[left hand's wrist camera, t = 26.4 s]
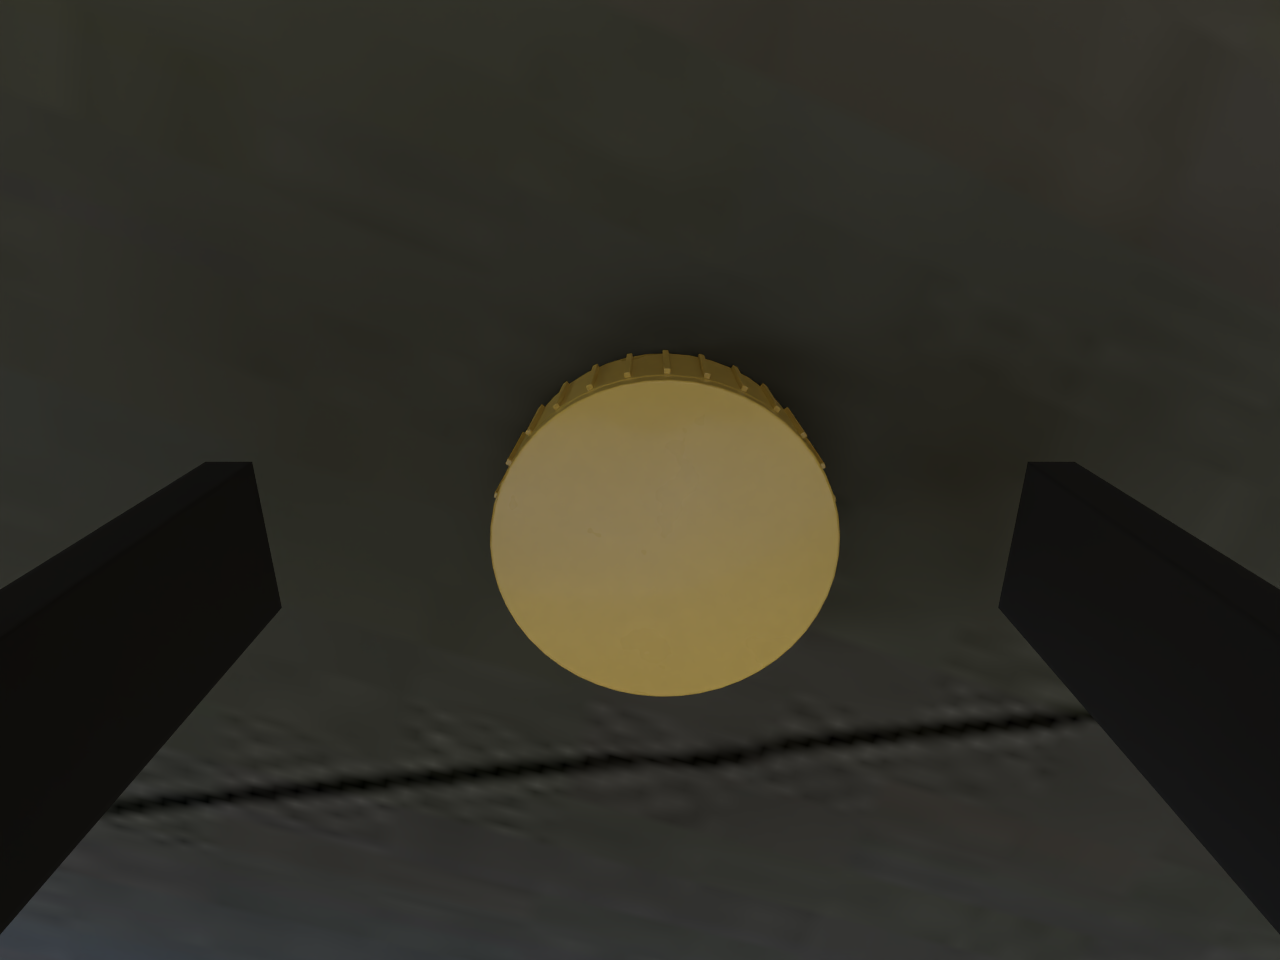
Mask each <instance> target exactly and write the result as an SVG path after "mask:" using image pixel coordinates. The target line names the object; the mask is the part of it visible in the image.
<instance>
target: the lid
mask: <svg viewBox="0 0 1280 960" xmlns="http://www.w3.org/2000/svg"><path fill="white" fill-rule="evenodd" d="M506 464H507V465H509V467H508V469H507V471H506V473H505V475H504V476H503V478H502V480H501V482H500V484H499V486H498V488H497V490H496V491H495V494H494V498H496V500H495V503H494V507H493V513H492V519H491V525H490V550H491V558H492V566H493V570H494V573H495V577H496V581H497V584H498V587H499V590H500V592H501V594H502V597H503V599H504V601H505V604H506V606H507V607H508V609H509V611H510V613H511V614H512V616H513V618H514V619H515V621H516V623H517V624H518V625H519V626H520V628H521V629H522V630H523V631H524V633H525V634H526V635H527V637H528V638H529V639H530V640H531V641H532V642H533V643H534V644H535V645H536V646H537V647H538V648H539V649H540V650H541V651H542V652H543V653H544V654H546V655H547V656H548V657H550V658H551V659H552V660H554V661H555V662H556V663H558V664H559V665H560V666H562V667H564V668H565V669H567V670H569V671H570V672H572V673H574V674H575V675H577V676H579V677H581V678H584V679H586V680H588V681H590V682H593V683H595V684H597V685H600V686H604V687H607V688H610V689H613V690H616V691H621V692H626V693H631V694H636V695H647V696H683V695H690V694H697V693H703V692H707V691H711V690H715V689H719V688H722V687H725V686H727V685H730V684H733V683H736V682H738V681H741V680H743V679H745V678H747V677H749V676H751V675H753V674H755V673H757V672H758V671H760V670H762V669H763V668H765V667H766V666H768V665H769V664H771V663H772V662H774V661H775V660H777V659H778V658H779V657H780V656H781V655H782V654H784V653H785V652H786V651H787V650H788V649H790V648H791V647H792V646H793V645H794V644H795V643H796V641H797V640H798V639H799V638H800V637H801V636H802V635H803V634H804V633H805V632H806V630H807V629H808V628H809V626H810V625H811V623H812V622H813V620H814V619H815V618H816V616H817V615H818V613H819V611H820V609H821V607H822V605H823V603H824V602H825V600H826V598H827V596H828V593H829V590H830V587H831V585H832V582H833V579H834V576H835V572H836V567H837V562H838V557H839V544H840V529H839V517H838V511H837V507H836V503H835V502H836V497H835V495H834V494H833V491H832V489H831V486H830V484H829V481H828V479H827V476H826V474H825V472H824V470H823V469H824V468H826V466H825V464H824V462H823V461H822V459H821V458H820V456H819V455H818V453H817V452H816V450H815V449H814V447H813V446H812V444H811V443H810V441H809V440H808V438H807V434H806V433H805V432H804V430H803V429H802V427H801V426H800V424H799V423H798V421H797V420H796V418H795V417H794V415H793V414H792V412H791V411H790V409H789V408H788V407H786V408H785V409H783V408H782V406H781V405H780V404H779V403H778V402H777V401H776V400H775V398H774V397H773V395H772V394H771V392H770V391H769V389H768V387H767V386H766V385H765V384H763V383H762V385H761V386H759V385H758V384H757V383H755V382H754V381H752V380H751V379H750V378H748V377H747V376H745V375H743V374H741V373H740V371H739V369H738V367H736V366H734V365H732V367H731V368H730V367H727V366H725V365H722V364H719V363H717V362H714V361H711V360H708V359H705V356H704V355H702V354H698V357H694V356H690V355H680V354H669V352H668V350H663V354H645V355H639V356H633V355H632V353H630V354H627V356H626V358H624V359H620V360H617V361H614V362H611V363H607V364H605V365H603V366H600V367H599V365H598V364H596V365H593V367H592V370H591V371H589V372H587V373H586V374H584V375H582V376H581V377H579V378H578V379H576V380H575V381H573V382H571V383H570V384H569V383H568V382H567V381H566V382H565V383H564V384H563V385H562V387H561V389H560V392H559V393H558V394H557V395H555V396H554V397H553V398H552V400H551V401H550V402H549V403H548V404H547V405H546V406H543V405H541V406H540V407H539V408H538V410H537V412H536V414H535V416H534V417H533V419H532V421H531V423H530V425H529V427H528V428H527V430H526V432H525V433H524V432H522V434H521V436H520V438H519V440H518V441H517V443H516V445H515V447H514V449H513V450H512V452H511V454H510V456H509V458H508V459H507V461H506Z"/></svg>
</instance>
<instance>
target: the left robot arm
mask: <svg viewBox="0 0 1280 960" xmlns="http://www.w3.org/2000/svg"><path fill="white" fill-rule="evenodd" d="M281 608H282V607H281V602H280V597H279V592H278V587H277V582H276V577H275V573H274V568H273V563H272V558H271V553H270V548H269V543H268V538H267V533H266V528H265V523H264V518H263V514H262V509H261V504H260V499H259V494H258V489H257V484H256V479H255V474H254V469H253V464H252V462H205V463H203V464H201V465H200V466H198V467H197V468H195V469H193V470H192V471H190V472H189V473H187V474H185V475H184V476H182V477H181V478H179V479H177V480H176V481H174V482H173V483H171V484H169V485H168V486H166V487H164V488H163V489H161V490H160V491H158V492H156V493H155V494H153V495H152V496H150V497H148V498H147V499H145V500H144V501H142V502H140V503H139V504H137V505H136V506H134V507H132V508H131V509H129V510H128V511H126V512H124V513H123V514H121V515H120V516H118V517H116V518H115V519H113V520H112V521H110V522H108V523H107V524H105V525H103V526H102V527H100V528H99V529H97V530H95V531H94V532H92V533H91V534H89V535H87V536H86V537H84V538H83V539H81V540H79V541H78V542H76V543H75V544H73V545H71V546H70V547H68V548H67V549H65V550H63V551H62V552H60V553H59V554H57V555H55V556H54V557H52V558H50V559H49V560H47V561H46V562H44V563H42V564H41V565H39V566H38V567H36V568H34V569H33V570H31V571H30V572H28V573H26V574H25V575H23V576H22V577H20V578H18V579H17V580H15V581H14V582H12V583H10V584H9V585H7V586H6V587H4V588H2V589H1V590H0V934H1V933H2V932H3V931H4V929H5V928H6V927H7V926H8V925H9V924H10V922H11V921H12V920H13V919H14V918H15V917H16V915H17V914H18V913H19V912H20V911H21V910H22V909H23V907H24V906H25V905H26V904H27V903H28V902H29V900H30V899H31V898H32V897H33V896H34V895H35V893H36V892H37V891H38V890H39V889H40V888H41V886H42V885H43V884H44V883H45V882H46V881H47V879H48V878H49V877H50V876H51V875H52V874H53V873H54V871H55V870H56V869H57V868H58V867H59V866H60V864H61V863H62V862H63V861H64V860H65V859H66V857H67V856H68V855H69V854H70V853H71V852H72V850H73V849H74V848H75V847H76V846H77V845H78V843H79V842H80V841H81V840H82V839H83V838H84V837H85V835H86V834H87V833H88V832H89V831H90V830H91V828H92V827H93V826H94V825H95V824H96V823H97V821H98V820H99V819H100V818H101V817H102V816H103V814H104V813H105V812H106V811H107V810H108V809H109V807H110V806H111V805H112V804H113V803H114V802H115V801H116V799H117V798H118V797H119V796H120V795H121V794H122V792H123V791H124V790H125V789H126V788H127V787H128V785H129V784H130V783H131V782H132V781H133V780H134V778H135V777H136V776H137V775H138V774H139V773H140V771H141V770H142V769H143V768H144V767H145V766H146V765H147V763H148V762H149V761H150V760H151V759H152V758H153V756H154V755H155V754H156V753H157V752H158V751H159V749H160V748H161V747H162V746H163V745H164V744H165V742H166V741H167V740H168V739H169V738H170V737H171V735H172V734H173V733H174V732H175V731H176V730H177V729H178V727H179V726H180V725H181V724H182V723H183V722H184V720H185V719H186V718H187V717H188V716H189V715H190V713H191V712H192V711H193V710H194V709H195V708H196V706H197V705H198V704H199V703H200V702H201V701H202V699H203V698H204V697H205V696H206V695H207V694H208V693H209V691H210V690H211V689H212V688H213V687H214V686H215V684H216V683H217V682H218V681H219V680H220V679H221V677H222V676H223V675H224V674H225V673H226V672H227V670H228V669H229V668H230V667H231V666H232V665H233V663H234V662H235V661H236V660H237V659H238V658H239V657H240V655H241V654H242V653H243V652H244V651H245V650H246V648H247V647H248V646H249V645H250V644H251V643H252V641H253V640H254V639H255V638H256V637H257V636H258V634H259V633H260V632H261V631H262V630H263V629H264V627H265V626H266V625H267V624H268V623H269V622H270V621H271V619H272V618H273V617H274V616H275V615H276V614H277V612H278V611H279V610H280V609H281ZM998 608H999V609H1000V610H1001V611H1002V612H1003V614H1004V615H1005V616H1006V617H1007V618H1008V619H1009V620H1010V622H1011V623H1012V624H1013V625H1014V626H1015V627H1016V629H1017V630H1018V631H1019V632H1020V633H1021V634H1022V636H1023V637H1024V638H1025V639H1026V640H1027V641H1028V643H1029V644H1030V645H1031V646H1032V647H1033V648H1034V650H1035V651H1036V652H1037V653H1038V654H1039V655H1040V656H1041V658H1042V659H1043V660H1044V661H1045V662H1046V663H1047V665H1048V666H1049V667H1050V668H1051V669H1052V670H1053V672H1054V673H1055V674H1056V675H1057V676H1058V677H1059V679H1060V680H1061V681H1062V682H1063V683H1064V684H1065V686H1066V687H1067V688H1068V689H1069V690H1070V691H1071V692H1072V694H1073V695H1074V696H1075V697H1076V698H1077V699H1078V701H1079V702H1080V703H1081V704H1082V705H1083V706H1084V708H1085V709H1086V710H1087V711H1088V712H1089V713H1090V715H1091V716H1092V717H1093V718H1094V719H1095V720H1096V722H1097V723H1098V724H1099V725H1100V726H1101V727H1102V728H1103V730H1104V731H1105V732H1106V733H1107V734H1108V735H1109V737H1110V738H1111V739H1112V740H1113V741H1114V742H1115V744H1116V745H1117V746H1118V747H1119V748H1120V749H1121V751H1122V752H1123V753H1124V754H1125V755H1126V756H1127V758H1128V759H1129V760H1130V761H1131V762H1132V763H1133V764H1134V766H1135V767H1136V768H1137V769H1138V770H1139V771H1140V773H1141V774H1142V775H1143V776H1144V777H1145V778H1146V780H1147V781H1148V782H1149V783H1150V784H1151V785H1152V787H1153V788H1154V789H1155V790H1156V791H1157V792H1158V794H1159V795H1160V796H1161V797H1162V798H1163V799H1164V800H1165V802H1166V803H1167V804H1168V805H1169V806H1170V807H1171V809H1172V810H1173V811H1174V812H1175V813H1176V814H1177V816H1178V817H1179V818H1180V819H1181V820H1182V821H1183V823H1184V824H1185V825H1186V826H1187V827H1188V828H1189V830H1190V831H1191V832H1192V833H1193V834H1194V835H1195V836H1196V838H1197V839H1198V840H1199V841H1200V842H1201V843H1202V845H1203V846H1204V847H1205V848H1206V849H1207V850H1208V852H1209V853H1210V854H1211V855H1212V856H1213V857H1214V859H1215V860H1216V861H1217V862H1218V863H1219V864H1220V866H1221V867H1222V868H1223V869H1224V870H1225V871H1226V872H1227V874H1228V875H1229V876H1230V877H1231V878H1232V879H1233V881H1234V882H1235V883H1236V884H1237V885H1238V886H1239V888H1240V889H1241V890H1242V891H1243V892H1244V893H1245V895H1246V896H1247V897H1248V898H1249V899H1250V900H1251V902H1252V903H1253V904H1254V905H1255V906H1256V907H1257V908H1258V910H1259V911H1260V912H1261V913H1262V914H1263V915H1264V917H1265V918H1266V919H1267V920H1268V921H1269V922H1270V924H1271V925H1272V926H1273V927H1274V928H1275V929H1276V931H1277V932H1278V933H1279V934H1280V590H1279V589H1278V588H1276V587H1275V586H1273V585H1271V584H1270V583H1268V582H1266V581H1265V580H1263V579H1262V578H1260V577H1258V576H1257V575H1255V574H1254V573H1252V572H1250V571H1249V570H1247V569H1246V568H1244V567H1242V566H1241V565H1239V564H1238V563H1236V562H1234V561H1233V560H1231V559H1230V558H1228V557H1226V556H1225V555H1223V554H1222V553H1220V552H1218V551H1217V550H1215V549H1213V548H1212V547H1210V546H1209V545H1207V544H1205V543H1204V542H1202V541H1201V540H1199V539H1197V538H1196V537H1194V536H1193V535H1191V534H1189V533H1188V532H1186V531H1185V530H1183V529H1181V528H1180V527H1178V526H1177V525H1175V524H1173V523H1172V522H1170V521H1169V520H1167V519H1165V518H1164V517H1162V516H1161V515H1159V514H1157V513H1156V512H1154V511H1152V510H1151V509H1149V508H1148V507H1146V506H1144V505H1143V504H1141V503H1140V502H1138V501H1136V500H1135V499H1133V498H1132V497H1130V496H1128V495H1127V494H1125V493H1124V492H1122V491H1120V490H1119V489H1117V488H1116V487H1114V486H1112V485H1111V484H1109V483H1108V482H1106V481H1104V480H1103V479H1101V478H1099V477H1098V476H1096V475H1095V474H1093V473H1091V472H1090V471H1088V470H1087V469H1085V468H1083V467H1082V466H1080V465H1079V464H1077V463H1075V462H1028V465H1027V470H1026V474H1025V479H1024V484H1023V489H1022V494H1021V499H1020V504H1019V509H1018V514H1017V519H1016V524H1015V528H1014V533H1013V538H1012V543H1011V548H1010V553H1009V558H1008V563H1007V568H1006V573H1005V578H1004V583H1003V587H1002V592H1001V597H1000V602H999V607H998Z"/></svg>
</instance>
